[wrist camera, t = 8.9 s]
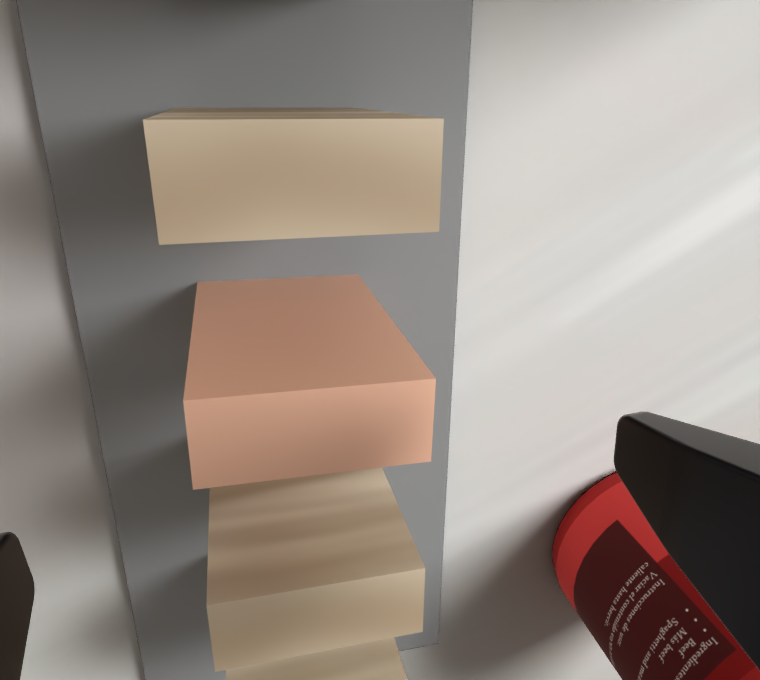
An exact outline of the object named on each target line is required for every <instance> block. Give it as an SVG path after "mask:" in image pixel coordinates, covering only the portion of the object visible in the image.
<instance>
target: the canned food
mask: <svg viewBox="0 0 760 680" xmlns="http://www.w3.org/2000/svg"><path fill="white" fill-rule="evenodd" d="M552 554H553V564H554V568H555V572H556V575H557V579H558V582H559V585H560V588H561V590H562V591H563V593H564V594H565V596H566V597H567V598H568V600H569V601H570V603H571V604H572V606H573V607H574V609H575V610H576V612H577V613H578V615H579V616H580V618H581V619H582V621H583V622H584V624H585V625H586V627H587V628H588V629H589V631H590V632H591V634H592V635H593V637H594V638H595V640H596V641H597V643H598V644H599V646H600V647H601V649H602V650H603V652H604V653H605V655H606V656H607V658H608V659H609V661H610V662H611V663H612V665H613V666H614V668H615V669H616V671H617V672H618V674H619V675H620V677H621V678H622V680H760V670H759V669H758V668H757V667H756V665H755V664H754V663H753V661H752V660H751V659H750V658H749V656H748V655H747V654H746V653H745V651H744V650H743V649H742V647H741V646H740V645H739V644H738V642H737V641H736V640H735V638H734V637H733V636H732V635H731V633H730V632H729V631H728V629H727V628H726V627H725V626H724V624H723V623H722V622H721V621H720V619H719V618H718V617H717V615H716V614H715V613H714V612H713V610H712V609H711V608H710V606H709V605H708V604H707V603H706V601H705V600H704V599H703V597H702V596H701V595H700V594H699V592H698V591H697V590H696V588H695V587H694V586H693V585H692V583H691V582H690V581H689V580H688V578H687V577H686V576H685V574H684V573H683V572H682V571H681V569H680V568H679V567H678V565H677V564H676V563H675V561H674V560H673V559H672V557H671V556H670V555H669V553H668V552H667V551H666V549H665V548H664V546H663V545H662V543H661V542H660V540H659V539H658V537H657V536H656V534H655V532H654V531H653V529H652V528H651V526H650V525H649V523H648V521H647V520H646V518H645V517H644V515H643V513H642V512H641V510H640V509H639V507H638V506H637V504H636V502H635V501H634V499H633V498H632V496H631V494H630V493H629V491H628V490H627V488H626V487H625V485H624V483H623V482H622V480H621V479H620V477H619V475H618V473H615V474H613V475H610V476H608V477H606V478H605V479H603V480H602V481H600V482H599V483H597V484H596V485H594V486H593V487H591V488H590V489H589V490H588V491H587V492H586V493H584V494H583V495H582V496H581V497H580V498H579V499H578V500H577V501H576V502H575V503H574V505H573V506H572V507H571V508H570V509H569V511H568V512H567V514H566V515H565V517H564V518H563V520H562V522H561V523H560V526H559V528H558V530H557V533H556V535H555V539H554V544H553V549H552Z"/></svg>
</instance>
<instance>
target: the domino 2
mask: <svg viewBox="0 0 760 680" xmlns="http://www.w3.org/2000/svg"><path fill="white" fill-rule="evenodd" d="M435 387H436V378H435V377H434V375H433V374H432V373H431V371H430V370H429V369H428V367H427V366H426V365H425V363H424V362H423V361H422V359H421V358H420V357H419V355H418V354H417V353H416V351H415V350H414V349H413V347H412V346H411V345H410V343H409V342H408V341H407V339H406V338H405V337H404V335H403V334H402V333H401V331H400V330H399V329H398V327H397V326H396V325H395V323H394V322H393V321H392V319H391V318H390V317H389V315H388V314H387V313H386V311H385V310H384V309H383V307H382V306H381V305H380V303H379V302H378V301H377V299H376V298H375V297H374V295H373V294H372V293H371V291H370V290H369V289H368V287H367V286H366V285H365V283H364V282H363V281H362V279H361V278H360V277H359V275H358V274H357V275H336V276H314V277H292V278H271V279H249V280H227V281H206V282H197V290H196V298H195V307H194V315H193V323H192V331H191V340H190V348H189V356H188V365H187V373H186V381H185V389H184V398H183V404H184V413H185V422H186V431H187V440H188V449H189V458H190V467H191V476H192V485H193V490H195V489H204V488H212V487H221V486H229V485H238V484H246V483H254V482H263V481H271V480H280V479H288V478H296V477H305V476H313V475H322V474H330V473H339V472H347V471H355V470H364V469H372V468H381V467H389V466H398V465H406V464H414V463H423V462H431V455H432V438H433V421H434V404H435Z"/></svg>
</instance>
